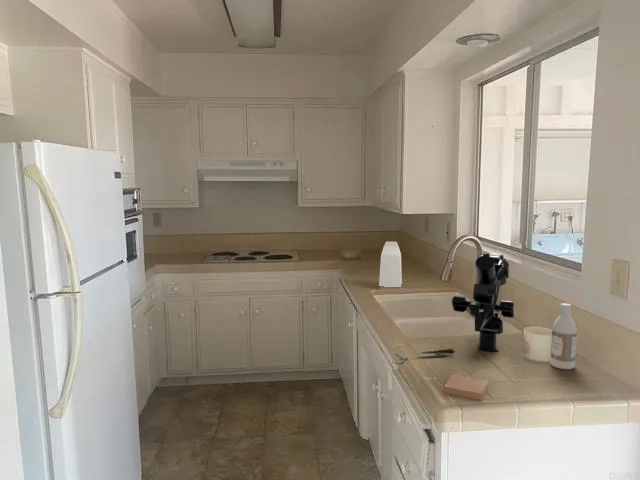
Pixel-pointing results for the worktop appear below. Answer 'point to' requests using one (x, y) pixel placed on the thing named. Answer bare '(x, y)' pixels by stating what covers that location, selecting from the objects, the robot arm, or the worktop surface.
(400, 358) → the hacksaw
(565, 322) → the bath foam
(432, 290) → the worktop surface
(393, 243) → the milk
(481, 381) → the tile
